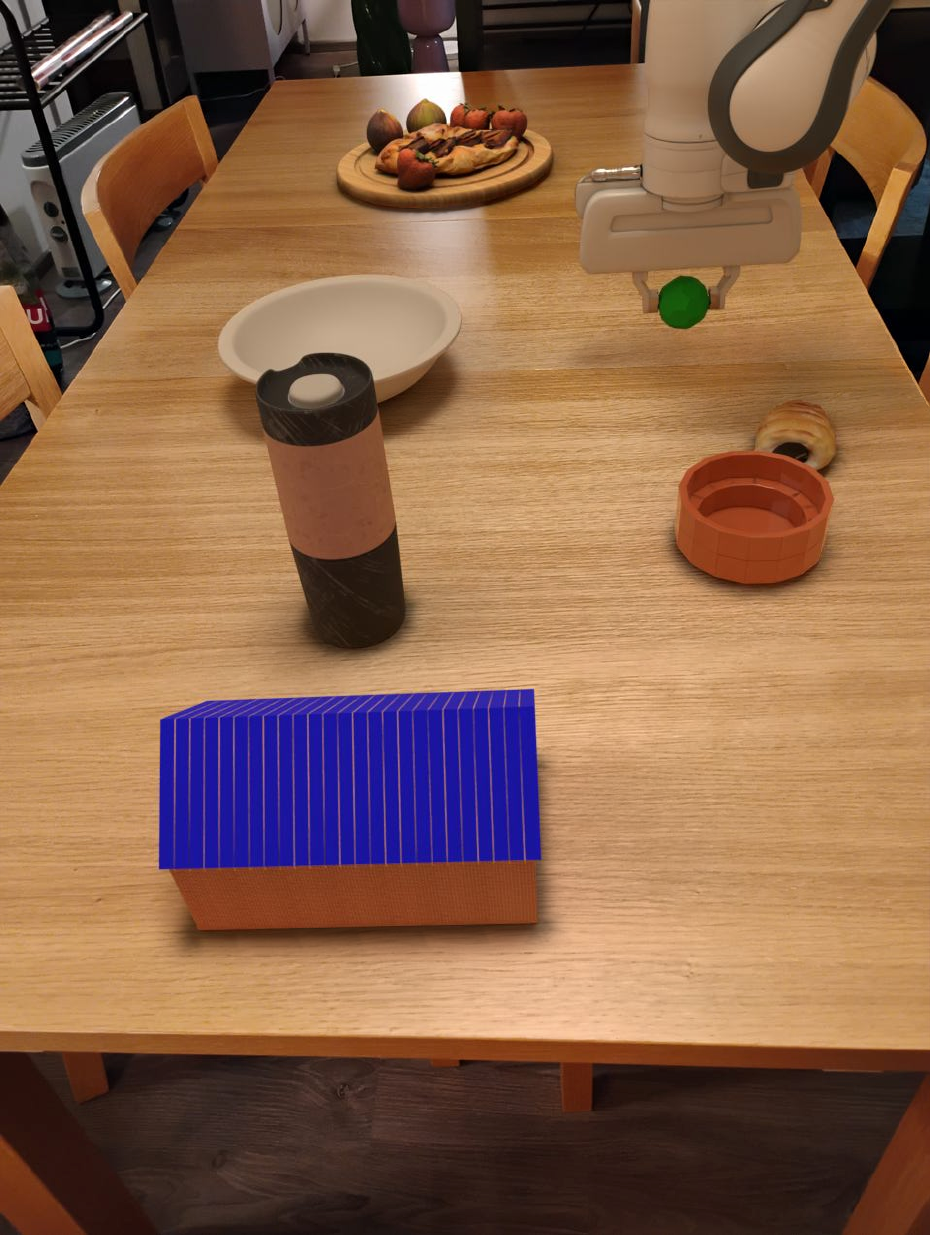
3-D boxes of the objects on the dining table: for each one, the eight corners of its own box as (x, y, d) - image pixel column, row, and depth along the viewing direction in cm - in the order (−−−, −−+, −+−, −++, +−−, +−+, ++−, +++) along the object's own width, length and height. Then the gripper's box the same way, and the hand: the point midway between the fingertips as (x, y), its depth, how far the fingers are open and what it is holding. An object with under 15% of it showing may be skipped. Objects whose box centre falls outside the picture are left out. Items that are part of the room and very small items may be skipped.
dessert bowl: (806, 499, 82) (816, 448, 79) (835, 588, 74) (847, 535, 71) (669, 502, 83) (673, 452, 80) (682, 590, 75) (687, 538, 72)
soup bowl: (263, 476, 91) (247, 413, 86) (211, 364, 107) (196, 306, 103) (504, 409, 96) (500, 346, 92) (419, 313, 113) (413, 256, 109)
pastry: (762, 414, 92) (767, 377, 90) (838, 423, 90) (846, 385, 88) (748, 470, 86) (754, 432, 83) (830, 481, 84) (839, 442, 81)
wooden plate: (482, 226, 130) (478, 161, 125) (293, 196, 144) (282, 135, 138) (591, 149, 150) (591, 89, 144) (415, 128, 163) (410, 73, 158)
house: (232, 769, 65) (185, 641, 57) (536, 759, 64) (531, 627, 56) (191, 935, 56) (129, 811, 49) (544, 928, 55) (538, 799, 47)
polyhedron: (692, 310, 101) (695, 264, 97) (716, 330, 97) (720, 283, 94) (647, 321, 100) (649, 275, 97) (670, 341, 96) (672, 294, 93)
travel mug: (397, 654, 72) (358, 413, 59) (297, 648, 73) (235, 411, 60) (418, 585, 78) (385, 351, 64) (324, 580, 79) (273, 350, 65)
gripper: (574, 182, 87) (576, 329, 96) (816, 165, 85) (794, 318, 94) (573, 158, 91) (575, 300, 101) (802, 141, 89) (783, 289, 98)
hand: (683, 309), depth 97 cm, fingers closed on polyhedron, 5 cm apart
